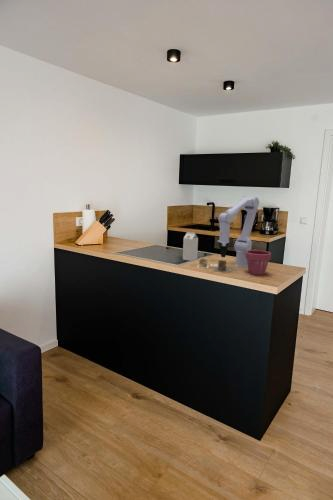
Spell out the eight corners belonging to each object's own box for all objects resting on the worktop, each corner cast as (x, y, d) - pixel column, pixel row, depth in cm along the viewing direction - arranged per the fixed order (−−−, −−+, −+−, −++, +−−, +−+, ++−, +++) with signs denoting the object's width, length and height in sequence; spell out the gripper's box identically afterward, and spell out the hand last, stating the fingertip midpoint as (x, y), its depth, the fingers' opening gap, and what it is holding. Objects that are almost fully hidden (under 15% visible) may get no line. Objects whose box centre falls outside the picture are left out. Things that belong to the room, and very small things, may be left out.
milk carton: (188, 258, 237) (189, 231, 233) (197, 259, 232) (198, 232, 229) (182, 259, 231) (183, 232, 228) (191, 261, 227) (192, 233, 223)
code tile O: (208, 266, 216) (208, 265, 216) (208, 268, 209) (208, 267, 209) (197, 265, 217) (197, 264, 217) (196, 267, 210) (196, 267, 210)
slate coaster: (229, 268, 210) (229, 268, 210) (230, 272, 201) (230, 271, 201) (215, 267, 211) (215, 267, 211) (214, 271, 203) (214, 270, 202)
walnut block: (225, 268, 208) (226, 260, 207) (225, 270, 204) (226, 262, 203) (218, 268, 209) (218, 260, 208) (218, 270, 204) (218, 261, 203)
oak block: (206, 265, 215) (207, 257, 214) (206, 267, 210) (206, 259, 209) (199, 265, 215) (200, 257, 214) (199, 266, 211) (199, 259, 210)
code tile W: (221, 265, 219) (221, 264, 219) (221, 267, 213) (221, 266, 212) (210, 264, 220) (210, 263, 220) (210, 266, 214) (210, 266, 214)
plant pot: (264, 270, 208) (266, 249, 206) (272, 276, 194) (274, 254, 192) (241, 270, 208) (243, 249, 205) (247, 276, 194) (249, 254, 191)
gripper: (217, 231, 210) (216, 253, 212) (217, 234, 195) (216, 258, 198) (229, 231, 208) (228, 253, 211) (229, 235, 194) (228, 258, 197)
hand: (223, 255), depth 205 cm, fingers open, 7 cm apart
